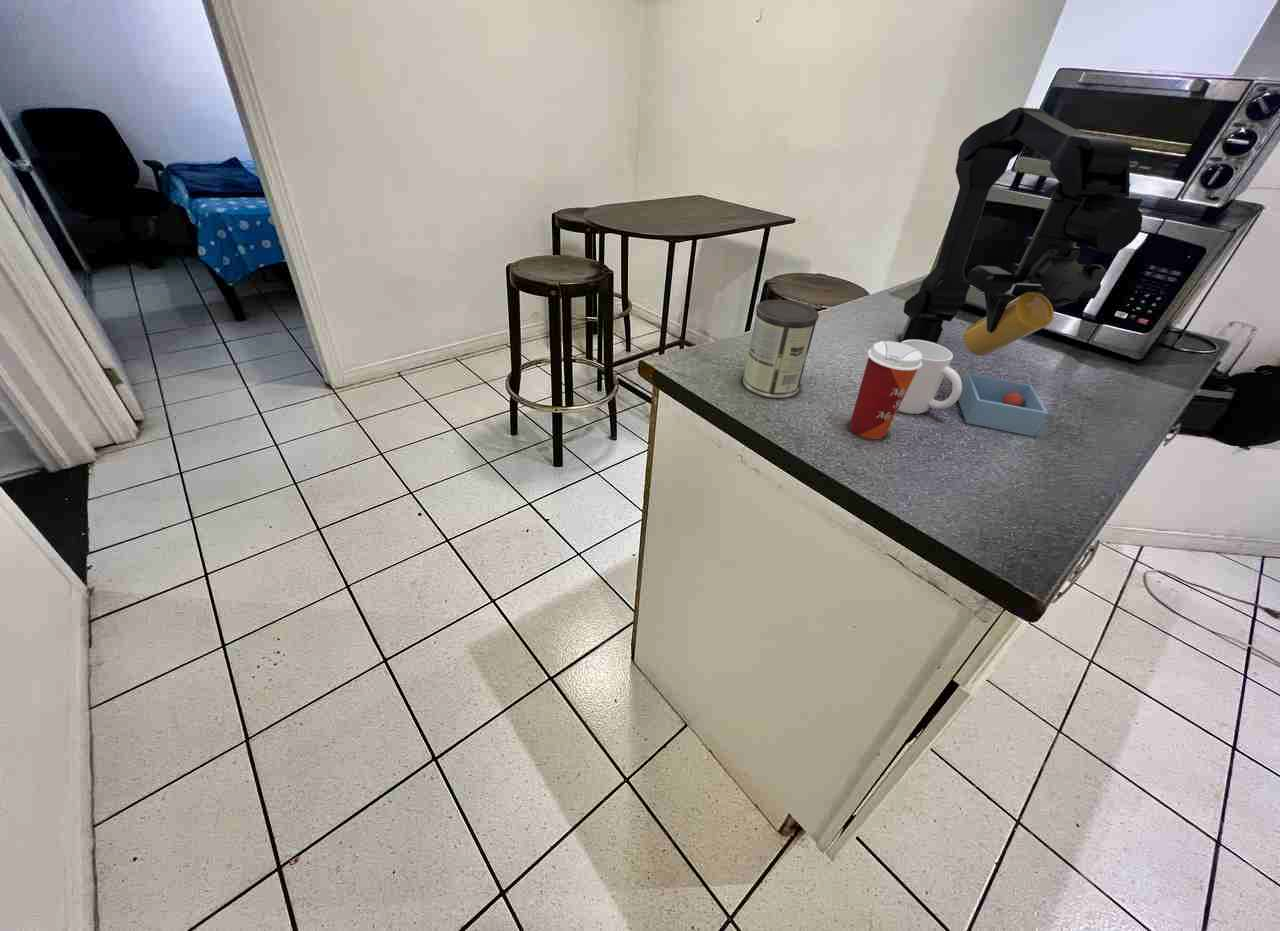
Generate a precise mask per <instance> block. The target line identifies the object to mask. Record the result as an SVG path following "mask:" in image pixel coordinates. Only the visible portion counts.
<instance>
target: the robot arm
mask: <svg viewBox="0 0 1280 931" xmlns="http://www.w3.org/2000/svg"><path fill="white" fill-rule="evenodd" d="M1026 147H1027V148H1029V149H1030V150H1032V151H1034V152H1035V153H1037V154H1038V155H1040V156H1042V157H1043V158H1045V159H1046V160H1048V162H1049V163H1050V165H1049V171H1050V173H1051V174H1052V176H1054V179H1056V180H1057V183H1056V184H1055V185H1052V186H1051V187H1049V188H1047V189H1045V190H1044V191H1043V192H1042V197H1044V198H1047V199H1048V198H1049V199H1050V200H1049V202H1048V204H1047V206H1046V208H1045V210H1044V212H1043V214H1042V216H1041V218H1040V221H1039V222H1038V225H1037V227H1036V228H1035V231H1034V233H1033V235H1032V236H1026V237H1025V239H1024V241H1023V243H1022V244H1023V245H1026V246H1027V247H1026V250H1025V252H1024V255H1023V256H1022V259H1021V260H1020V263H1013V265H1012V267H1011V269H1010V270H1011V271H1012V272H1014V273H1011V272H1009V271H1008V270H1005V269H1002V268H1001V267H999V266H992V265H976V266H975V267H974V268H971V270H970V271H969V273H968V275H967V278H966V276H965V273H964V270H965V266H966V264H967V263H966V262H967V260H968V257H969V253H970V252H971V248H972V244H973V241H974V238H975V235H976V234H977V233H976V231H977V229H978V226H979V224H980V220H981V217H982V214H983V211H984V208H985V205H986V201H987V200H988V199H987V198H988V195H989V192H990V190H991V188H992V187H993V186H994V185H995V184H996V183H997V182H998V180H1000V178H1001V177H1003V175H1004V174H1005V173H1006V171H1007V170H1008V167H1009V164H1010V162H1011V160H1012V159H1014V158H1015V157H1016V156H1018V155H1020V154H1021V153H1023V152H1024V151H1025V150H1026ZM1130 152H1132V146H1131V144H1130V143H1129V141H1126V140H1122V139H1117V138H1112V137H1103V136H1095V135H1089V134H1085V133H1083V132H1081V131H1079V130H1077V129H1075V128H1073V127H1071V126H1070V125H1068V124H1066V123H1065V122H1062V121H1060V120H1059V119H1057V118H1055V117H1053V116H1051V115H1049V114H1047V112H1046V110H1044V109H1042V108H1035V107H1022V106H1021V107H1020V106H1019V107H1017V108H1013V109H1011V110H1009V111H1008V112H1007V113H1006V114H1005V115H1003V116H1001V117H999V118H997V119H995V120H992V121H990V122H987V123H985V124H983V125H981V126H979V127H978V128H977V129H976V130H974V131H973V132H972V133H971V134H969V135H968V136H967V137H966V138H964V140H963V141H962V142H961V144H960V146H959V149H958V153H957V156H958V157H957V161H956V166H955V174H956V179H957V182H958V185H959V188H958V192H957V194H956V198H955V202H954V204H953V205H954V206H953V209H952V211H951V216H950V219H949V222H948V226H947V229H946V231H945V235H944V238H943V241H942V245H941V248H940V252H939V256H938V257H937V258H938V259H937V262H936V265H935V268H933V270H932V271H931V272H930V273H929V274H928V275H927V276H926V277H925V278H924V279H923V281H922V282H921V285H920V288H919V289H918V292H916V293H915V294H914V295H912V296H911V297H910V298H908V299H907V300H906V301H904V306H903V310H902V311H903V314H905V315H906V316H907V320H906V323H905V326H904V328H903V331H902V333H900V334H899V340H900V343H901V342H903V341H905V340H924V341H928V342H932V343H936V344H938V342H939V340H940V337H941V335H942V332H943V331H944V328H943V326H942V325H943V323H944V322H952V320H953V319H954V318H955V316H956V315H957V314H958V312H959V311H961V309H962V307H963V305H964V304H965V303H966V301H967V295H968V293H969V290H970V288H971V286H972V287H974V288H975V289H976V290H979V291H980V292H982V293H983V294H984V301H985V310H986V311H985V312H986V316H985V317H986V318H987V331H988V332H989V333H992V332H993V331H994V329H995V328H996V326H997V325H998V323H999V321H1000V319H1001V317H1002V314H1003V312H1004V310H1005V308H1006V306H1007V305H1008V303H1010V302H1011V301H1013V300H1014V299H1016V298H1018V297H1017V296H1016V295H1014V294H1013V291H1014V290H1015V288H1029V289H1030V288H1031V289H1037V290H1036V292H1037V293H1041V294H1043V295H1044V296H1045V297H1046V298H1048V300H1049V301H1050V303H1051V304H1052V307H1053V311H1054V312H1055V311H1056V310H1057V309H1059V308H1060V307H1062V306H1065V305H1068V304H1071V303H1076V302H1078V301H1079V299H1090V300H1091V299H1094V300H1095V299H1096V297H1097V295H1098V294H1099V292H1100V290H1101V289H1102V283H1101V282H1102V281H1103V278H1104V276H1105V274H1106V272H1107V269H1106V268H1105V267H1104V266H1103V265H1102V264H1093V263H1092V264H1091V263H1090V264H1088V265H1086V264H1082V263H1081V264H1080V263H1078V257H1079V255H1080V254H1081V247H1078V246H1076V245H1077V244H1079V245H1081V246H1084V247H1087V248H1090V249H1093V250H1096V251H1098V252H1100V253H1104V254H1113V253H1114V254H1115V253H1117V252H1119V251H1121V250H1123V249H1125V248H1126V247H1128V246H1129V245H1130V244H1131V243H1132V242H1134V240H1135V239H1137V237H1138V236H1139V234H1140V232H1141V230H1142V228H1143V227H1142V224H1143V214H1142V211H1141V210H1139V208H1140V206H1141V204H1142V202H1143V198H1141V197H1137V196H1136V197H1135V196H1130V188H1131V183H1130V182H1131V181H1130V179H1131V178H1130V176H1131V175H1130V173H1131V172H1130V170H1131V168H1130V167H1131V166H1130V165H1131V161H1130V160H1131V156H1130Z"/></svg>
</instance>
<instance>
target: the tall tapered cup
mask: <svg viewBox="0 0 1280 931" xmlns="http://www.w3.org/2000/svg"><path fill="white" fill-rule="evenodd" d="M1054 313H1055V311H1053V307H1052V304H1051V303H1050V301H1049V300H1048V298H1046V297H1045V296H1044V295H1043V294H1041V293H1037V291H1026V292H1024V293H1023V294H1021V295H1019V296H1018V297H1017V298H1016V299H1014V300H1013V301H1011V302H1010V303H1008V305H1007V306H1006V308H1005V310H1004V312H1003V314H1002V317H1001V319H1000V321H999V323H998V325H997V326H996V328H995V329H994V331H993V332H992V333H989V332H988V331H987V318H986V316H985V317H984V316H983V318H981V319H979V320H977V321H976V322H974V323H972V324H971V325H970V326H968V327H967V328H966V329H965V331H964V333H963V342H964V345H965V348H966V349H967V350H968V351H969V352H970V353H971V354H973V355H975V356H979V357H986V356H989V355H990V354H993V353H995V352H997V351H999V350H1001V349H1003V348H1005V347H1007V346H1009V345H1012V344H1013V343H1015V342H1017V341H1019V340H1021V339H1023V338H1025V337H1027V336H1029V335H1031V334H1033V333H1035V332H1037V331H1040V330H1042V329H1044V328H1045V327H1048V326H1049V325H1050V324H1051V322H1052V321H1053V318H1054Z"/></svg>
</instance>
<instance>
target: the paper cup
mask: <svg viewBox="0 0 1280 931" xmlns="http://www.w3.org/2000/svg"><path fill="white" fill-rule="evenodd" d="M867 356H868V358H867V362H866V365H865V369H864V372H863V375H862V378H861V379H862V380H861V383H860V387H859V390H858V393H857V397H856V401H855V404H854V408H853V412H852V416H851V419H850V423H849V428H850V430H851V431H852V432H853V433H854V434H855V435H857V436H859V437H862V438H864V439H867V440H881V439H882V438H884V436H886V434H887V432H888V430H889V428H890V426H891V424H892V422H893V421H894V419H895V416H896V415H897V412H898V411H897V410H898V408H899V406H900V404H901V402H902V400H903V398H904V396H905V394H906V392H907V390H908V388H909V386H910V384H911V382H912V380H913V378H914V376H915V374H916V372H917V370H918V369H919V368H921V366H922V361H921V359H922V354H921V353H920V352H919V351H918V350H917V349H915V348H913V347H911V346H909V345H906V344H902V343H901V342H897V341H891V340H890V341H889V340H883V341H882V340H881V341H877V342H875V343H874V344H873V346H872V347H871V348H870V349H869V350H868V351H867Z"/></svg>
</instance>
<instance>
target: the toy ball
mask: <svg viewBox="0 0 1280 931" xmlns="http://www.w3.org/2000/svg"><path fill="white" fill-rule="evenodd" d="M1002 403H1003V404H1007V405H1012V406H1018V407H1021V406H1022V404H1023V397H1022V396H1021V395H1020V394H1018V393H1009V394H1007V395H1006V396H1005V397H1004V398H1003V401H1002Z"/></svg>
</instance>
